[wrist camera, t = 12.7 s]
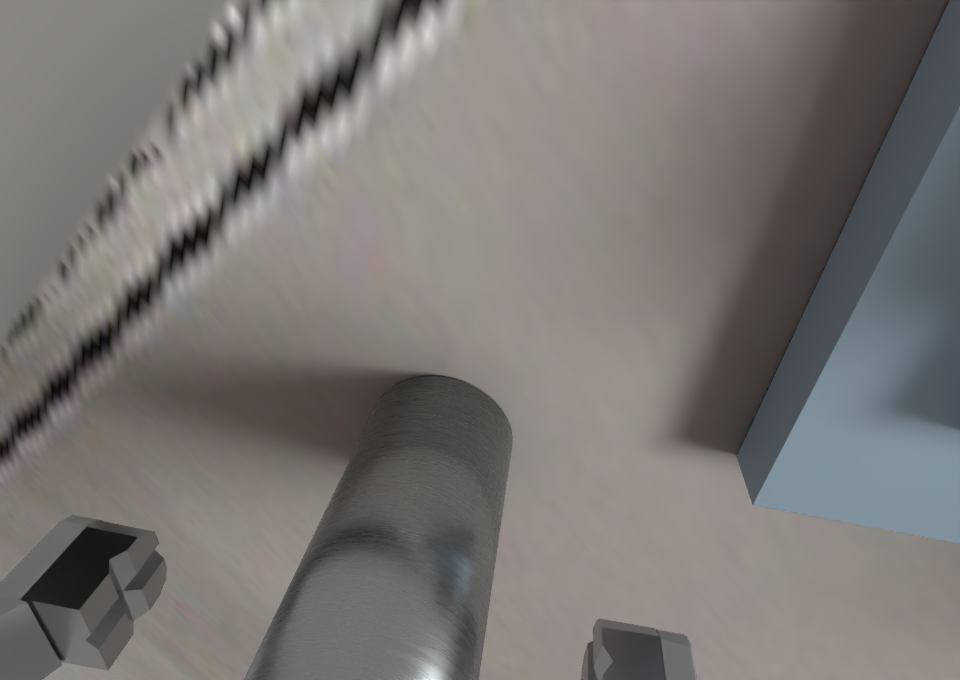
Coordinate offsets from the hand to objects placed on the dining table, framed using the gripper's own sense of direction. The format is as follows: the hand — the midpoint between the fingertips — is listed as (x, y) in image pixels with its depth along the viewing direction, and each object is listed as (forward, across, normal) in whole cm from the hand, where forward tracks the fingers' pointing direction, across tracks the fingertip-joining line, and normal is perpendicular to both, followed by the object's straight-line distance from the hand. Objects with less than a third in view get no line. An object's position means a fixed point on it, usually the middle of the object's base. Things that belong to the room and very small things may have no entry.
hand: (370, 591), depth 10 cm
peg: (+5, 0, 0) cm, 5 cm away
